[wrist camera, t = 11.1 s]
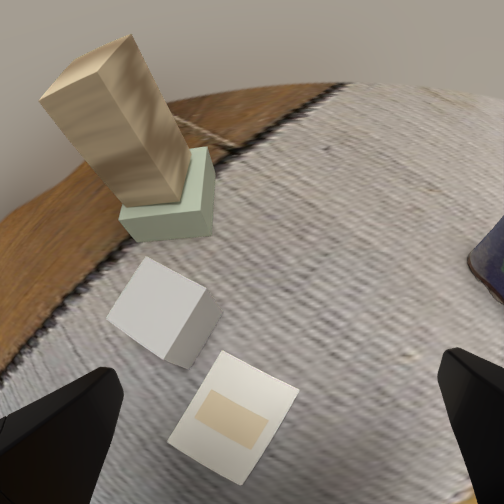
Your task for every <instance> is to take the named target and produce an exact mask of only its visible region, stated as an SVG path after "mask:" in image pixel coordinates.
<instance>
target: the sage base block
mask: <svg viewBox="0 0 504 504" xmlns="http://www.w3.org/2000/svg"><path fill="white" fill-rule="evenodd" d="M189 150H190V152H191V154H192V155H191V159H190V162H189V166H188V170H187V174H186V178H185V182H184V186H183V190H182V194H181V198H180V201H178V202H169V203H160V204H152V205H144V206H136V207H128V208H126V207H125V206H124V205H123V204H122V208H121V212H120V216H119V221H120V223H121V224H122V225H123V226H124V228H125V229H126V230H127V231H128V232H129V234H130V235H131V236H132V237H133V238H134V240H135V241H136V242H137V243H140V242H151V241H161V240H172V239H184V238H195V237H207V236H212V221H213V205H214V190H215V177H216V174H215V171H214V167H213V164H212V161H211V158H210V154H209V151H208V148H207V147H201V148H194V149H189Z"/></svg>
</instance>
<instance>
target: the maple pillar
mask: <svg viewBox="0 0 504 504" xmlns="http://www.w3.org/2000/svg"><path fill="white" fill-rule="evenodd" d="M39 102H40V103H41V105H42V106H43V108H44V109H45V110H46V112H47V113H48V114H49V116H50V117H51V118H52V119H53V120H54V122H55V123H56V125H57V126H58V127H59V128H60V130H61V131H62V132H63V133H64V135H65V136H66V137H67V138H68V140H69V141H70V142H71V143H72V145H73V146H74V147H75V148H76V149H77V151H78V152H79V153H80V154H81V156H82V157H83V158H84V159H85V160H86V162H87V163H88V164H89V165H90V166H91V168H92V169H93V170H94V171H95V172H96V173H97V175H98V176H99V177H100V178H101V179H102V181H103V182H104V183H105V184H106V185H107V186H108V187H109V189H110V190H111V191H112V192H113V193H114V194H115V196H116V197H117V198H118V199H119V200H120V201H121V202H122V203H123V205H124V206H125V207H126V208H128V207H136V206H144V205H152V204H160V203H169V202H178V201H180V198H181V194H182V190H183V186H184V182H185V178H186V174H187V170H188V166H189V162H190V159H191V155H192V154H191V152H190V150H189V148H188V146H187V144H186V142H185V140H184V138H183V136H182V134H181V132H180V130H179V128H178V126H177V124H176V122H175V120H174V118H173V116H172V114H171V112H170V110H169V108H168V106H167V104H166V102H165V100H164V98H163V96H162V94H161V93H160V90H159V88H158V86H157V84H156V83H155V80H154V78H153V76H152V74H151V73H150V71H149V68H148V66H147V64H146V62H145V61H144V58H143V57H142V54H141V52H140V50H139V49H138V46H137V44H136V42H135V40H134V38H133V36H132V34H130V35H127V36H125V37H122V38H119V39H117V40H115V41H113V42H110V43H108V44H106V45H103V46H101V47H99V48H97V49H95V50H93V51H91V52H88V53H87V54H84V55H82V56H80V57H78V58H76V59H75V60H74V61H73V62H72V63H71V64H70V65H69V66H68V67H67V68H66V69H65V70H64V71H63V72H62V74H61V75H60V76H59V77H58V78H57V79H56V80H55V81H54V83H53V84H52V85H51V86H50V87H49V89H48V90H47V91H46V92H45V94H44V95H43V96H42V97H41V98H40V100H39Z"/></svg>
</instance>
